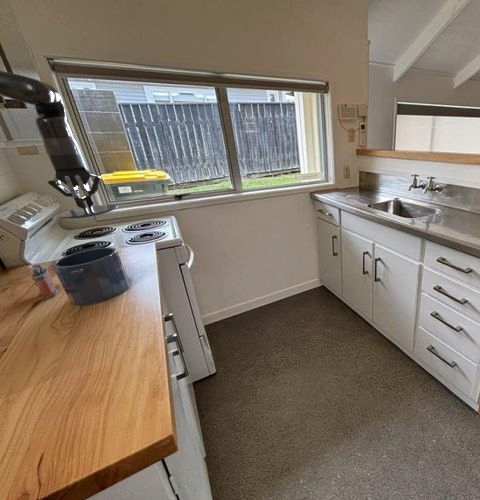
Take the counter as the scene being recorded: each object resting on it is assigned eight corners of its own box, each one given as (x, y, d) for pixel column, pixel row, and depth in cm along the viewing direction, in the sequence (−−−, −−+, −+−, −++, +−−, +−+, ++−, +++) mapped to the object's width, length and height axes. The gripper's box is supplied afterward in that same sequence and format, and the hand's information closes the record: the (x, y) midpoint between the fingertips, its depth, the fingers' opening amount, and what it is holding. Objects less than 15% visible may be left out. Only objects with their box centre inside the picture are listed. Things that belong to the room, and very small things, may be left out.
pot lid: (50, 223, 86) (41, 204, 84) (68, 212, 99) (60, 196, 96) (113, 214, 92) (106, 196, 90) (122, 205, 105) (116, 189, 103)
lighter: (45, 291, 92) (30, 263, 88) (59, 287, 94) (45, 260, 90) (41, 300, 87) (25, 271, 83) (56, 296, 88) (41, 268, 85)
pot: (60, 316, 78) (38, 276, 73) (82, 285, 94) (66, 251, 90) (124, 300, 84) (108, 262, 79) (134, 274, 101) (121, 241, 96)
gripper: (95, 151, 94) (114, 202, 101) (40, 154, 88) (64, 208, 95) (88, 152, 88) (109, 206, 95) (29, 155, 82) (56, 213, 89)
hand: (87, 207), depth 95 cm, fingers closed on pot lid, 1 cm apart
